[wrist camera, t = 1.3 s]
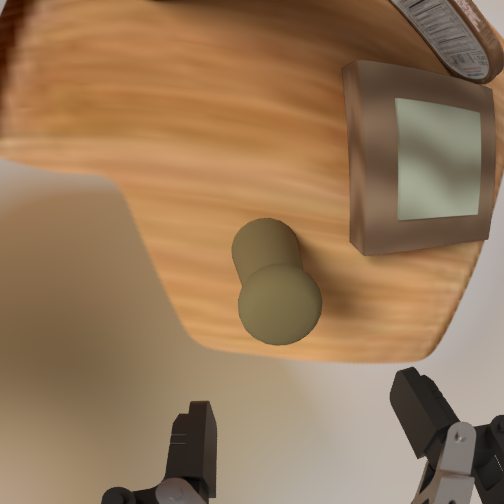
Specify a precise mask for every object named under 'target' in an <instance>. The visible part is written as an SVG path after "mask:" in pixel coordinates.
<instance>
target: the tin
mask: <svg viewBox="0 0 504 504" xmlns="http://www.w3.org/2000/svg"><path fill="white" fill-rule="evenodd" d="M390 2H391V3H392V4H393V5H394V6H395V7H396V8H397V9H398V10H399V11H400V12H401V13H402V14H403V16H404V17H405V18H406V19H407V20H408V21H409V22H410V23H411V25H412V26H413V27H414V28H415V29H416V31H417V32H418V33H419V34H420V35H421V37H422V38H423V39H424V40H425V42H426V43H427V44H428V45H429V47H430V48H431V49H432V51H433V52H434V53H435V55H436V56H437V57H438V58H439V60H440V61H441V62H442V63H443V64H444V65H445V66H446V67H447V68H448V69H449V70H450V71H451V72H453V73H454V74H455V75H457V76H458V77H460V78H461V79H463V80H465V81H469V82H472V83H475V84H487V83H489V82H491V81H492V80H493V79H494V78H495V77H496V75H498V74H499V73H500V72H501V71H502V70H503V67H504V52H503V48H502V45H501V43H500V41H499V39H498V38H497V36H496V34H495V33H494V31H493V30H492V28H491V26H490V25H489V24H488V22H487V21H486V19H485V18H484V16H483V15H482V13H481V12H480V11H479V9H478V8H477V7H476V5H475V4H474V3H473V1H472V0H390Z"/></svg>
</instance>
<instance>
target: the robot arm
mask: <svg viewBox="0 0 504 504" xmlns="http://www.w3.org/2000/svg"><path fill="white" fill-rule="evenodd" d="M390 402H391V405H392V407H393V409H394V411H395V413H396V415H397V417H398V419H399V421H400V423H401V426H402V427H403V429H404V431H405V434H406V436H407V438H408V440H409V442H410V444H411V446H412V448H413V450H414V453H415V455H416V457H417V459H419V458H422V457H424V456H426V457H427V459H428V460H427V462H426V465H425V468H424V471H423V475H422V478H421V481H420V484H419V487H418V490H417V493H416V495H415V498H414V499H413V501H412V502H411V504H469V503H470V498H471V495H472V490H473V485H474V484H475V486H476V489H477V491H478V494H479V496H480V498H481V501H482V504H504V415H499V416H496V417H495V418H494V419H493V420H492V422H491V423H490V424H487V425H482V426H476V427H473V426H472V425H471V424H469V423H467V422H461V421H460V420H459V419H458V418H457V416H456V415H455V413H454V411H453V410H452V408H451V407H450V405H449V404H448V402H447V401H446V399H445V398H444V397H443V395H442V393H441V392H440V391H439V389H438V387H437V386H436V384H435V383H434V381H433V380H431V379H430V378H429V377H427V376H426V375H422V376H420V374H419V373H418V371H417V370H416V369H415V368H414V367H410V368H407V369H404V370H400V371H398V372H397V373H396V375H395V379H394V382H393V385H392V388H391V392H390ZM171 434H172V436H171V439H170V446H169V453H168V459H167V466H166V473H165V477H164V479H163V480H162V481H161V483H160V484H158V485H157V486H155V487H153V488H150V489H145V490H139V491H133V492H131V491H129V490H128V489H126V488H123V487H113V488H111V489H109V490H107V491H106V492H105V493H104V495H103V497H102V502H101V504H209V498H216V459H217V458H216V457H217V425H216V421H215V418H214V415H213V411H212V408H211V405H210V402H209V401H191V402H190V406H189V414H179V415H178V417H177V418H176V420H175V421H174V423H173V426H172V433H171ZM495 456H496V457H495ZM496 458H497V459H496ZM497 460H498V461H497ZM498 462H499V463H498ZM499 464H500V465H499ZM500 466H501V467H500ZM501 468H502V469H501ZM502 470H503V471H502Z"/></svg>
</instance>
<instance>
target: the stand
mask: <svg viewBox="0 0 504 504" xmlns="http://www.w3.org/2000/svg"><path fill="white" fill-rule="evenodd" d="M341 69H342V77H343V86H344V96H345V106H346V118H347V133H348V150H349V176H350V243H351V244H352V245H353V246H354V247H356V248H357V249H358V250H359V251H360V252H361V253H362V254H363V255H364V256H371V255H378V254H386V253H394V252H402V251H409V250H416V249H424V248H431V247H438V246H446V245H453V244H460V243H467V242H474V241H480V240H487V239H488V238H489V231H490V225H491V217H492V209H493V199H494V186H495V164H496V136H495V115H494V103H493V93H492V89H490V88H487V87H484V86H481V85H478V84H475V83H472V82H469V81H465V80H462V79H459V78H455V77H451V76H448V75H444V74H440V73H435V72H431V71H427V70H422V69H417V68H412V67H407V66H401V65H396V64H389V63H382V62H375V61H367V60H358V59H357V60H355V61H354V62H352V63H350V64H348V65H347V66H345V67H343V68H341Z"/></svg>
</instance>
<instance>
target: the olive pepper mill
mask: <svg viewBox="0 0 504 504" xmlns="http://www.w3.org/2000/svg"><path fill="white" fill-rule="evenodd" d="M232 258H233V261H234V264H235V267H236V270H237V272H238V275H239V278H240V281H241V284H242V289H241V292H240V295H239V298H238V310H239V317H240V319H241V321H242V323H243V325H244V327H245V329H246V331H247V332H248V333H250V334H251V335H252V336H253V337H254V338H256V339H257V340H260V341H262V342H264V343H266V344H271V345H288V344H291V343H294V342H297V341H299V340H301V339H302V338H304V337H305V336H307V335H308V334H309V333H310V332H311V331H312V330H313V328H314V327H315V326H316V324H317V322H318V320H319V318H320V315H321V310H322V297H321V294H320V290H319V287H318V286H317V284H316V282H315V281H314V280H313V279H312V277H311V276H310V275H309V274H308V273H306V272H305V271H303V266H302V261H301V256H300V251H299V246H298V242H297V239H296V236H295V234H294V233H293V231H292V230H291V229H290V227H289V226H287V225H286V224H284V223H283V222H281V221H279V220H275V219H271V218H263V219H257V220H254V221H251V222H249V223H247V224H246V225H245V226H244V227H242V228H241V229H240V230H239V232H238V233H237V235H236V236H235V238H234V241H233V244H232Z"/></svg>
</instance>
